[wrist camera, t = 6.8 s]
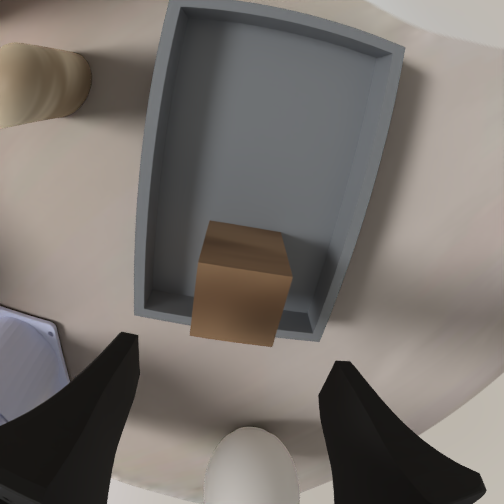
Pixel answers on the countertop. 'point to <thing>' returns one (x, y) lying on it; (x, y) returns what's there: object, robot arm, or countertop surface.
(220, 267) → the walnut block
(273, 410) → the countertop surface
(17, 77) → the maple dowel
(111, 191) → the countertop surface
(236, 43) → the tray
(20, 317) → the robot arm
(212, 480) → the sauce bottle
